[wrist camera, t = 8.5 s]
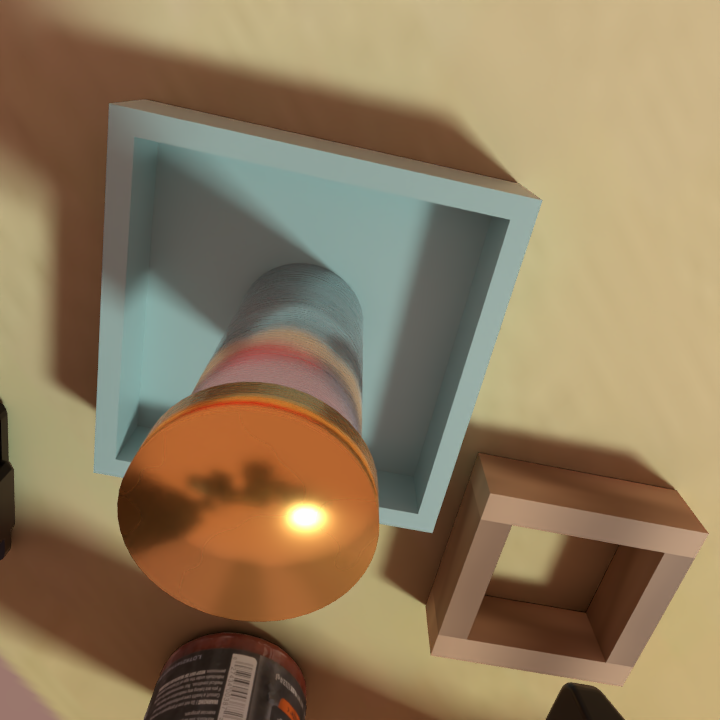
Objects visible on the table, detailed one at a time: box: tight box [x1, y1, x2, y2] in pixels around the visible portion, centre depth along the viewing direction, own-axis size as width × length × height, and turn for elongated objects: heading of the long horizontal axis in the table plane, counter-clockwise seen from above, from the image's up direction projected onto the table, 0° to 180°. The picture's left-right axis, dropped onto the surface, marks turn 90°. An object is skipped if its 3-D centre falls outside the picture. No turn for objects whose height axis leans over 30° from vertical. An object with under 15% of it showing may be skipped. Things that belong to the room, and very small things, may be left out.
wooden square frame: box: [426, 453, 709, 687], centre depth 21 cm, size 7×7×2 cm
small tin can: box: [117, 263, 379, 622], centre depth 14 cm, size 4×4×9 cm
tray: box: [94, 99, 542, 533], centre depth 18 cm, size 10×10×2 cm
